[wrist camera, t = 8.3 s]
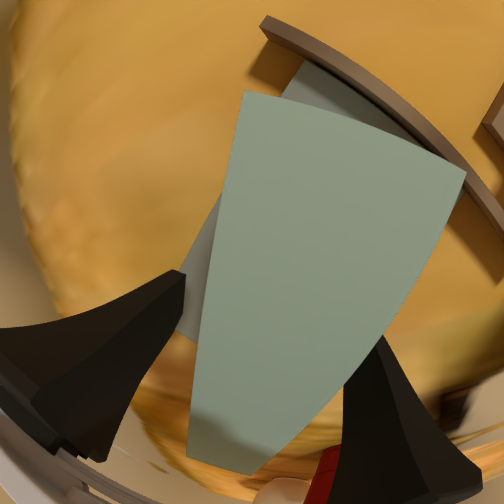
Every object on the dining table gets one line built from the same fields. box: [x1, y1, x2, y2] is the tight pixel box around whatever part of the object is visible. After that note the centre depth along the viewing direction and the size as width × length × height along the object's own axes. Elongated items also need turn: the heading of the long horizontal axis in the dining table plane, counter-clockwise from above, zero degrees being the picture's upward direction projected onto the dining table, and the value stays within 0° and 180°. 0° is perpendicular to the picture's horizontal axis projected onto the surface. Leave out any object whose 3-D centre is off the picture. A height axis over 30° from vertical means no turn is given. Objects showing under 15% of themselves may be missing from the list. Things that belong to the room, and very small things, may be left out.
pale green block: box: [186, 90, 467, 476], centre depth 10 cm, size 3×14×8 cm, turn 167°
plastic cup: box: [303, 445, 341, 504], centre depth 19 cm, size 11×11×12 cm
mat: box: [175, 60, 465, 344], centre depth 14 cm, size 9×17×1 cm, turn 149°
